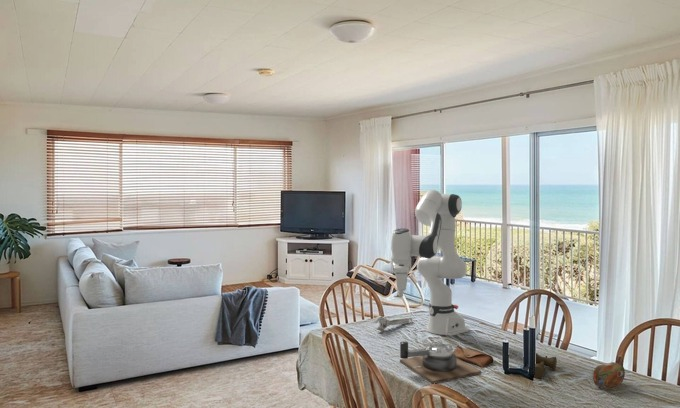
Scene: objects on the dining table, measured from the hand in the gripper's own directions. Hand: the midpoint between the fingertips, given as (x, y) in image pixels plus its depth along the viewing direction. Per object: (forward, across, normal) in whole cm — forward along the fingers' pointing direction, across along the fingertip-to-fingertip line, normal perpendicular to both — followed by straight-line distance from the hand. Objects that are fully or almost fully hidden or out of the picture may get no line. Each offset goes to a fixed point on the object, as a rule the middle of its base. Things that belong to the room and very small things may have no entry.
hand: (400, 296), depth 211 cm
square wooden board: (+27, +12, +16) cm, 33 cm away
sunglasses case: (+28, +1, +30) cm, 41 cm away
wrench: (+28, -42, -2) cm, 50 cm away
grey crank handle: (+22, +14, +10) cm, 28 cm away
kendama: (+28, +10, +58) cm, 65 cm away
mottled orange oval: (+27, +22, +79) cm, 86 cm away
